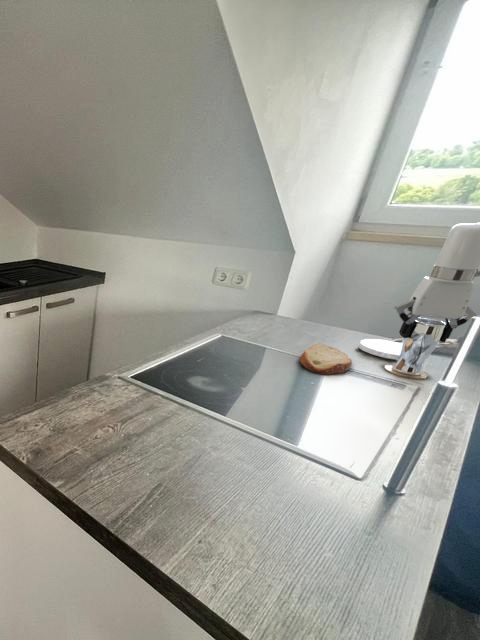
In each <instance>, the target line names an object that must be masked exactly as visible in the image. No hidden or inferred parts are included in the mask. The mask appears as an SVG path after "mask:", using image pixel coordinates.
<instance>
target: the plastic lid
mask: <svg viewBox="0 0 480 640" xmlns="http://www.w3.org/2000/svg"><path fill="white" fill-rule="evenodd" d="M358 343H359V344H358V348H359V349H360V350H361V351H363V352H366V353H367V354H370V355H373V356H377V357H381V358H384V359H390V360H395V361H397V360H398V358H399V355H400V351H401V346H402V342H397V341H393V340H387V339H380V338H364V339H361V340H359V342H358Z"/></svg>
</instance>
